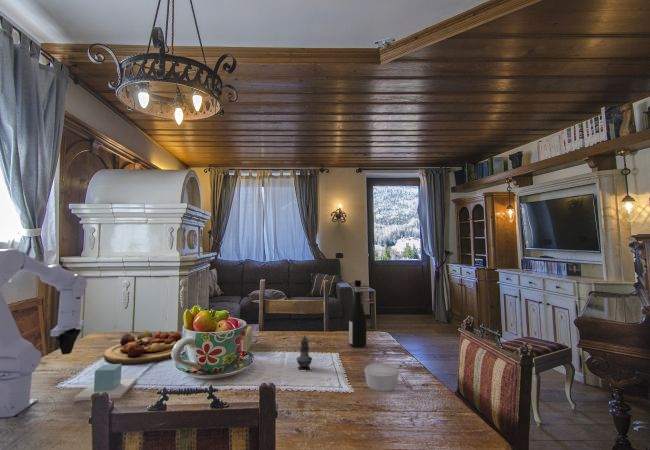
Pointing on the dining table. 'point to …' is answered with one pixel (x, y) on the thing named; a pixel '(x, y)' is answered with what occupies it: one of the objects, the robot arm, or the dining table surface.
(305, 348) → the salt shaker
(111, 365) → the pale blue cube
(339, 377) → the dining table surface
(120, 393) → the post stand
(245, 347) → the candy box
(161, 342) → the wooden plate with food
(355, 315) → the wine bottle
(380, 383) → the ramekin
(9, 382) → the robot arm
